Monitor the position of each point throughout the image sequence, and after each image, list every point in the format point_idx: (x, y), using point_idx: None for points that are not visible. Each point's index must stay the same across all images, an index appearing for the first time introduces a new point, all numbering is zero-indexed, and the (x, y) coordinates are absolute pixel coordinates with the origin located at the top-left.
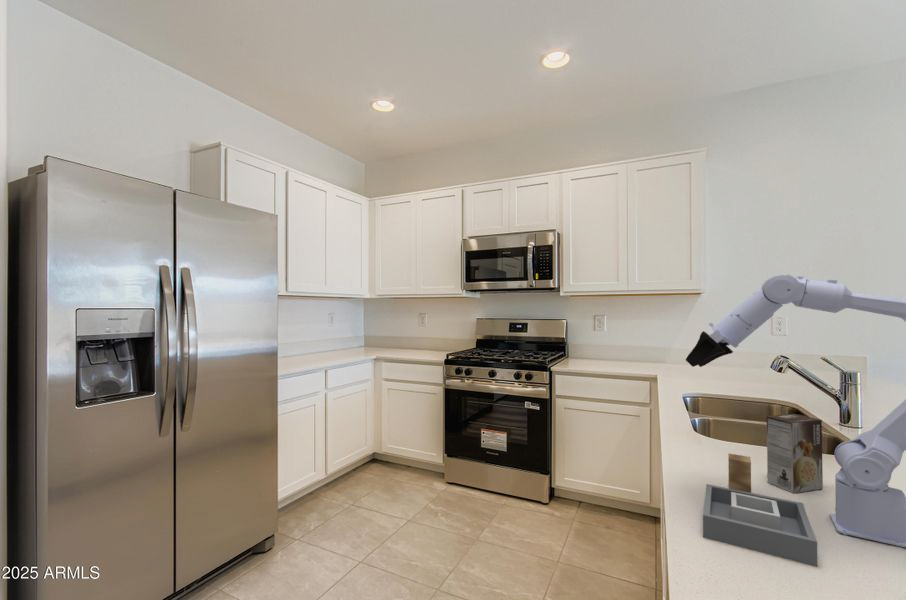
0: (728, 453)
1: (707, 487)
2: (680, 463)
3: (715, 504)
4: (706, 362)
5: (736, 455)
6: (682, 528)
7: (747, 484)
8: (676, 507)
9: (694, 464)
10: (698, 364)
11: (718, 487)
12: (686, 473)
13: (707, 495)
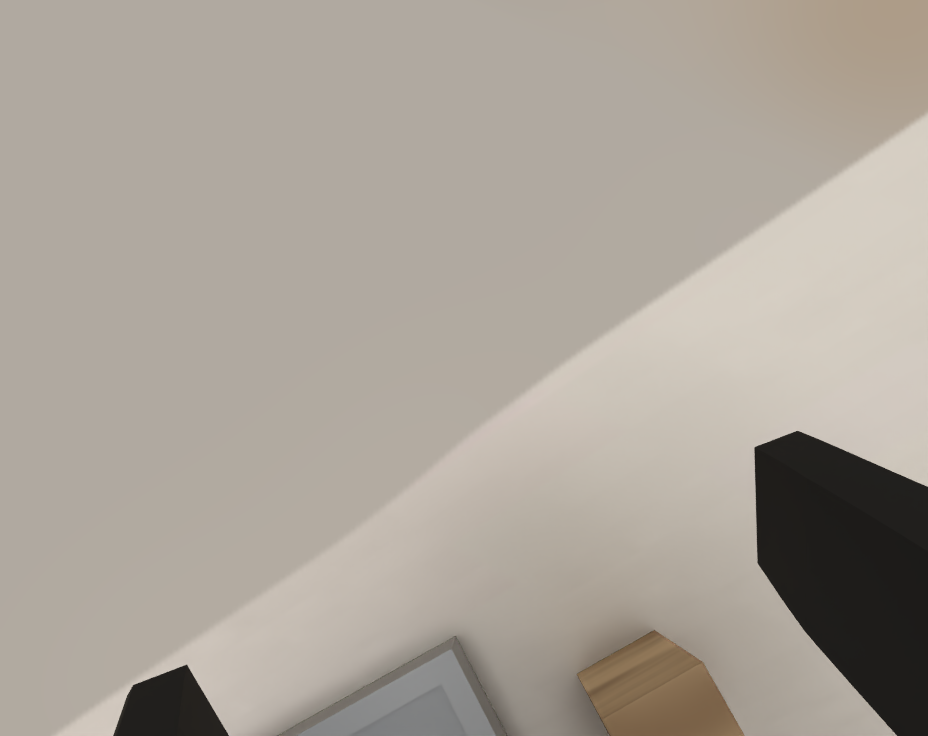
0: (701, 663)
1: (411, 678)
2: (796, 280)
3: (423, 701)
4: (841, 665)
5: (709, 711)
6: None
7: None
8: (288, 594)
9: (855, 324)
10: (764, 536)
11: (461, 707)
12: (695, 380)
13: (318, 734)
